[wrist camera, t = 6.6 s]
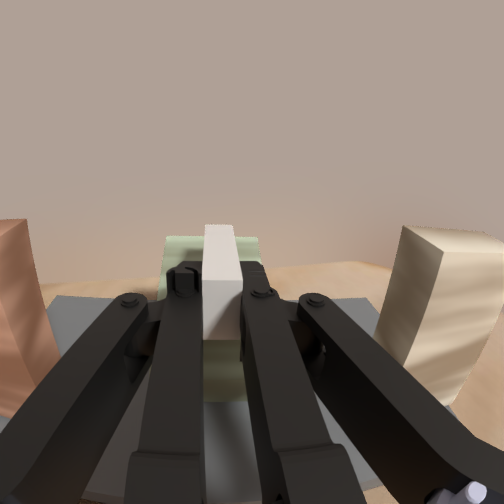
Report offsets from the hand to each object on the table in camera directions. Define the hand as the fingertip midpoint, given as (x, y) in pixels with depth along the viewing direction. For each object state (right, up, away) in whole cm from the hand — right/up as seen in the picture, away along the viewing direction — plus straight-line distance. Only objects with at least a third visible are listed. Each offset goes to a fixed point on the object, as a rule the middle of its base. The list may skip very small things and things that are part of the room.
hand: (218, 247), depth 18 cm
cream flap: (+11, -9, -2) cm, 14 cm away
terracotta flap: (-11, -9, -5) cm, 15 cm away
